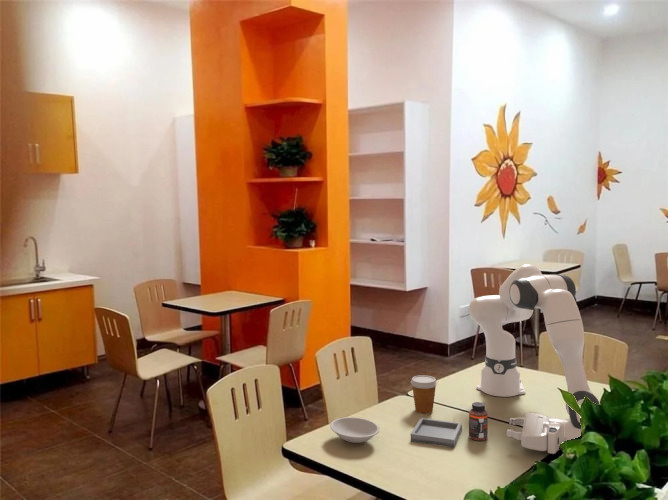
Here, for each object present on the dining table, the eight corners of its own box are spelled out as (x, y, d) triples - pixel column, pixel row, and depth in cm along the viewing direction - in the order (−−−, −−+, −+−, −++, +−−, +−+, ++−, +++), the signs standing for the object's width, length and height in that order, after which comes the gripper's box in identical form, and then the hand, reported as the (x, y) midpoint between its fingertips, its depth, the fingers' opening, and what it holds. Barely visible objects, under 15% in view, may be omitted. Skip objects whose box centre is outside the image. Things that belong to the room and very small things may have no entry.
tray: (421, 424, 197) (420, 417, 196) (461, 430, 191) (461, 423, 191) (410, 441, 184) (410, 433, 183) (454, 447, 178) (454, 439, 178)
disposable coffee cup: (436, 416, 204) (436, 383, 202) (410, 414, 206) (409, 382, 204) (437, 406, 213) (437, 375, 212) (411, 405, 215) (411, 374, 214)
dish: (390, 442, 183) (389, 427, 183) (358, 457, 173) (358, 441, 173) (351, 427, 196) (351, 413, 195) (320, 440, 186) (320, 425, 186)
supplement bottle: (486, 442, 181) (486, 408, 180) (467, 440, 184) (467, 406, 182) (488, 435, 187) (488, 401, 186) (470, 432, 189) (470, 399, 188)
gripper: (555, 410, 185) (511, 405, 191) (554, 435, 167) (505, 429, 172) (555, 429, 186) (511, 423, 191) (553, 456, 167) (504, 449, 172)
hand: (508, 426), depth 181 cm, fingers open, 8 cm apart
